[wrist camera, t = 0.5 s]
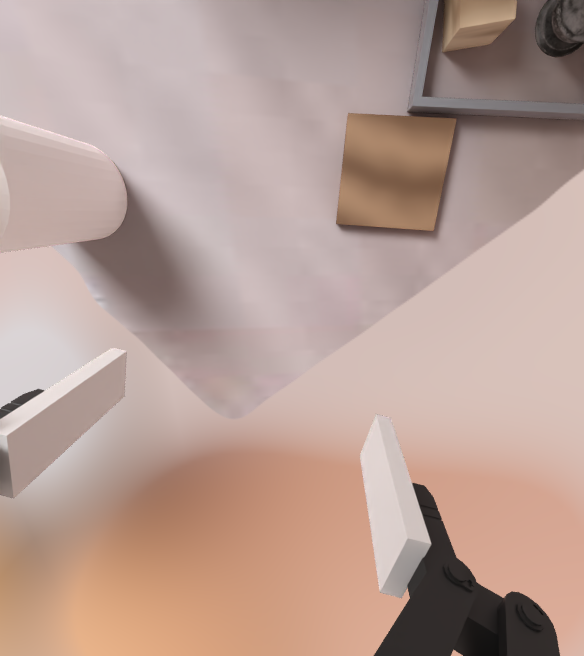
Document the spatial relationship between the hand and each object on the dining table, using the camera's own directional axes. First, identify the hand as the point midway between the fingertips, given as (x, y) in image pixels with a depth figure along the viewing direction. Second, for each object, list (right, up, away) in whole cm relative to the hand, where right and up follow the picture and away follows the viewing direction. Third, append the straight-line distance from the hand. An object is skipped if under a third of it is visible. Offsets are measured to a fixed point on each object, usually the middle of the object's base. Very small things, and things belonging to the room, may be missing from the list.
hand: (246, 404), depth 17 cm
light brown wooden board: (+13, +21, +20) cm, 32 cm away
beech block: (+19, +34, +15) cm, 42 cm away
